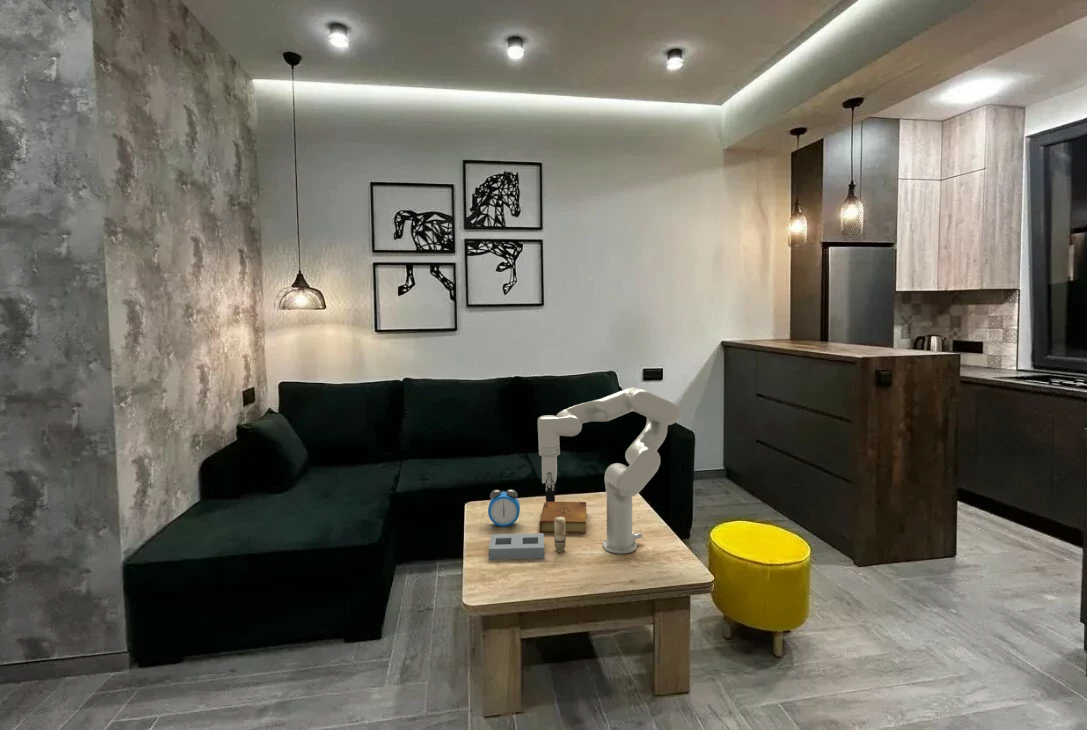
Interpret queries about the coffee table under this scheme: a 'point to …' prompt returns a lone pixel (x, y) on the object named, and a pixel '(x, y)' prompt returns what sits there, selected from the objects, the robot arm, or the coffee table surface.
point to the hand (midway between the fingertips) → (551, 496)
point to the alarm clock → (503, 507)
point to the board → (516, 546)
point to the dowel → (560, 534)
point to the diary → (569, 511)
